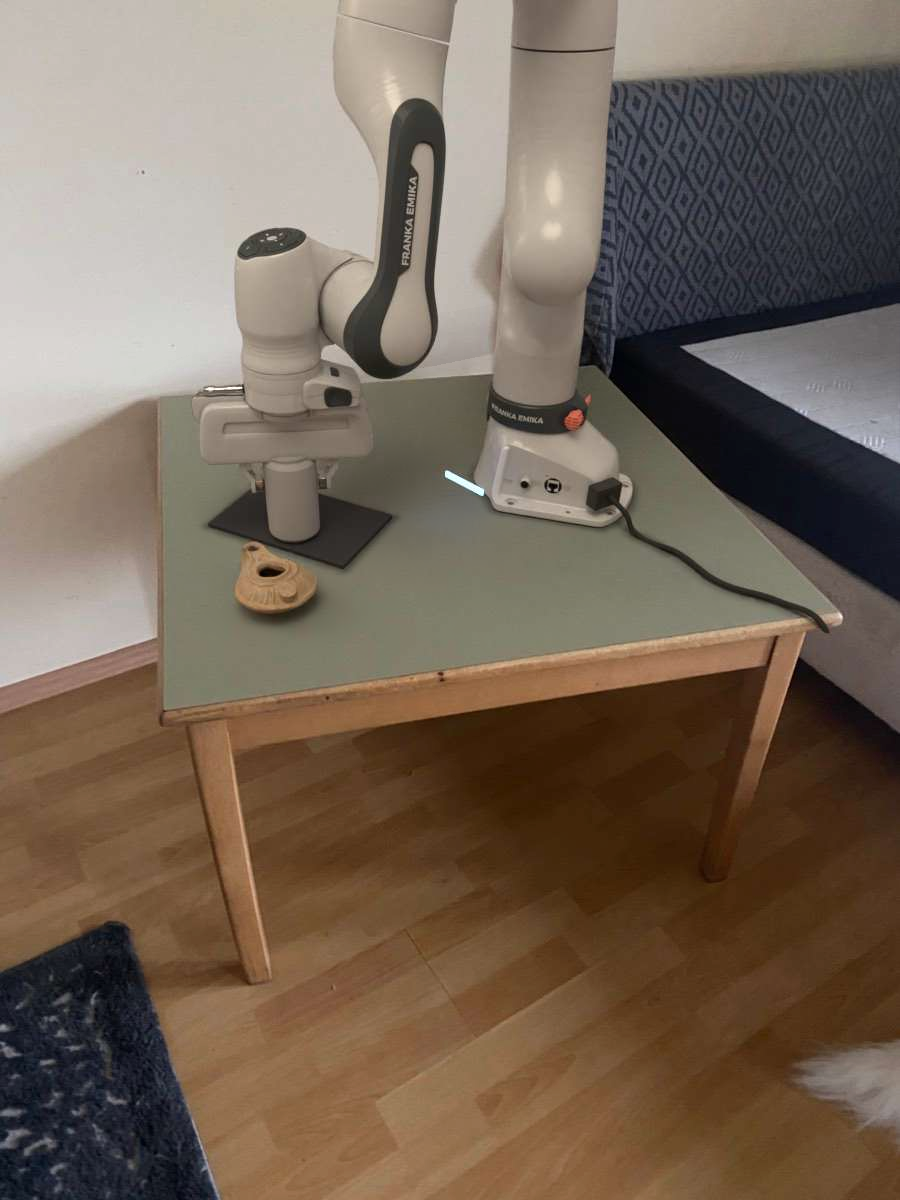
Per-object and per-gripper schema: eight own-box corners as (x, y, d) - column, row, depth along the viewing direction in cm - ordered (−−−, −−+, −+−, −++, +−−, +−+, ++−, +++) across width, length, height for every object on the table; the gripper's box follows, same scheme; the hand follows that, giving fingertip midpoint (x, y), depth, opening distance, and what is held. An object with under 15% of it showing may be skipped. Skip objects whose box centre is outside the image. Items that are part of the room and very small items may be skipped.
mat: (392, 517, 116) (392, 514, 116) (343, 569, 106) (343, 565, 106) (265, 480, 122) (264, 477, 121) (208, 526, 112) (207, 523, 112)
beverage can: (329, 536, 111) (324, 453, 103) (282, 551, 108) (275, 466, 100) (306, 513, 115) (300, 430, 107) (261, 527, 112) (251, 443, 104)
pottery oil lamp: (283, 553, 108) (305, 517, 103) (306, 635, 102) (330, 601, 97) (214, 549, 103) (233, 510, 98) (234, 635, 97) (256, 599, 92)
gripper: (187, 399, 95) (203, 507, 103) (375, 392, 98) (376, 497, 107) (189, 374, 99) (205, 480, 108) (368, 368, 103) (370, 471, 111)
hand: (291, 488), depth 107 cm, fingers open, 7 cm apart
